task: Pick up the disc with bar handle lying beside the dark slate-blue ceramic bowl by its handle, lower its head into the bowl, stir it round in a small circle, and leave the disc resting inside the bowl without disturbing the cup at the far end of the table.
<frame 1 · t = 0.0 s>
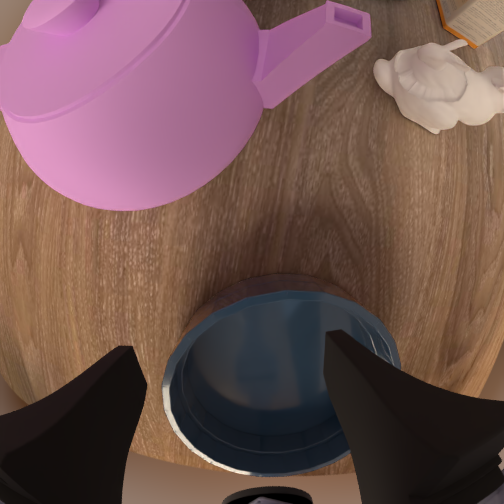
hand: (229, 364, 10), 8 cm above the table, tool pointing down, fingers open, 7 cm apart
supplement box: (452, 16, 15), on the table
white lumpy figure: (430, 113, 16), on the table
teapot: (151, 99, 16), on the table
bowl: (279, 370, 19), on the table
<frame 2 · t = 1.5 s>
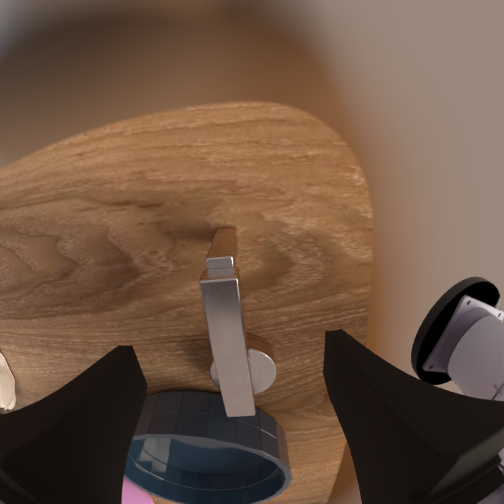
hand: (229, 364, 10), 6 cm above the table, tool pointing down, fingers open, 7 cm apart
teapot: (100, 473, 24), on the table
bowl: (202, 440, 20), on the table
disc with bar handle: (237, 315, 16), on the table
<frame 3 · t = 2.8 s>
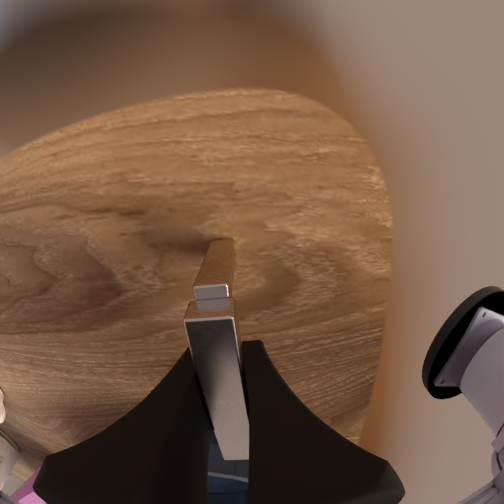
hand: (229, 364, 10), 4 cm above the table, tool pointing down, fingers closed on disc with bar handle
energy drink can: (5, 437, 19), on the table
teapot: (95, 487, 21), on the table
bowl: (199, 462, 18), on the table
disc with bar handle: (235, 339, 14), on the table, touching gripper
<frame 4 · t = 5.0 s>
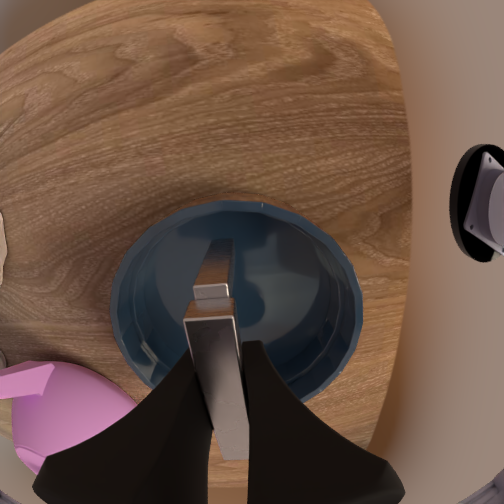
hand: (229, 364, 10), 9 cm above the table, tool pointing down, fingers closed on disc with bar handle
teapot: (92, 406, 22), on the table
bowl: (236, 299, 19), on the table
disc with bar handle: (235, 338, 14), point 5 cm above the table, touching gripper
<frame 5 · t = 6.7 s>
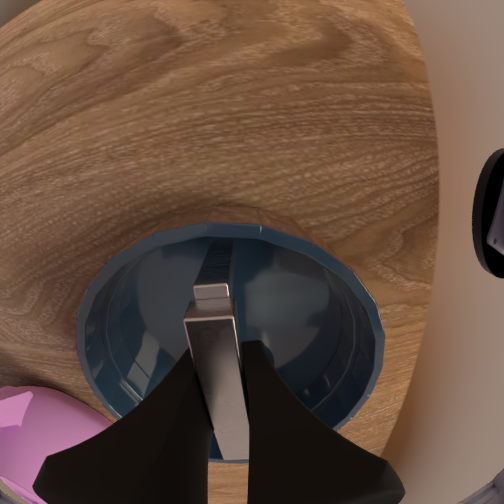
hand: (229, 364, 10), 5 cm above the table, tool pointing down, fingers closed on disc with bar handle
teapot: (78, 431, 19), on the table
bowl: (230, 332, 15), on the table
disc with bar handle: (235, 339, 14), point 1 cm above the table, touching gripper
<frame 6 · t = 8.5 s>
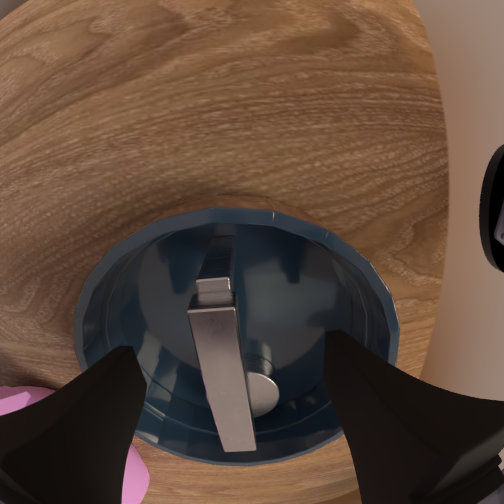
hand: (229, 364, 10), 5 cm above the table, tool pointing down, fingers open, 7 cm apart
teapot: (77, 432, 18), on the table
bowl: (235, 329, 15), on the table
disc with bar handle: (235, 334, 14), resting on bowl
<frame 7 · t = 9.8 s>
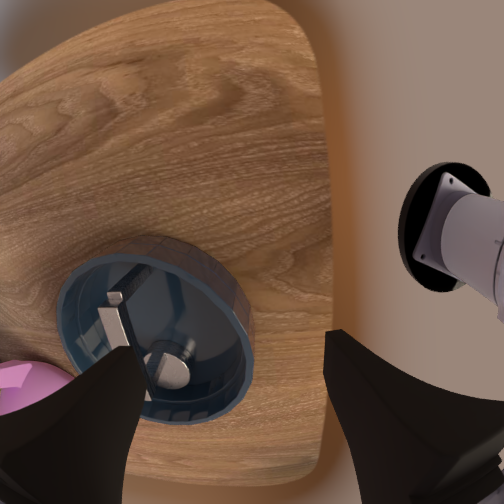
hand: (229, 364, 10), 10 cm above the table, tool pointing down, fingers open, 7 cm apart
teapot: (67, 400, 25), on the table
bowl: (162, 323, 21), on the table
disc with bar handle: (160, 326, 20), resting on bowl
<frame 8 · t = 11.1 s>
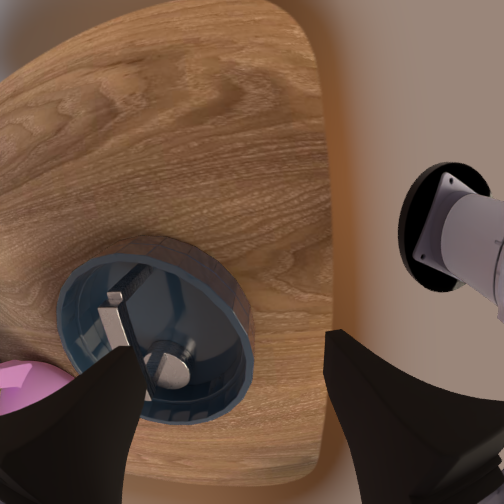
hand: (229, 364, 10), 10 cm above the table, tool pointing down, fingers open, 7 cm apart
teapot: (67, 400, 25), on the table
bowl: (162, 323, 21), on the table
disc with bar handle: (160, 326, 20), resting on bowl
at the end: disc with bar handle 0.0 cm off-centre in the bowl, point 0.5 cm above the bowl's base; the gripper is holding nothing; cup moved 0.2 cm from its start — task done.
